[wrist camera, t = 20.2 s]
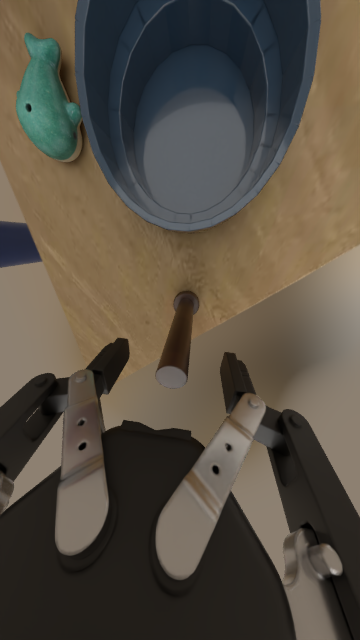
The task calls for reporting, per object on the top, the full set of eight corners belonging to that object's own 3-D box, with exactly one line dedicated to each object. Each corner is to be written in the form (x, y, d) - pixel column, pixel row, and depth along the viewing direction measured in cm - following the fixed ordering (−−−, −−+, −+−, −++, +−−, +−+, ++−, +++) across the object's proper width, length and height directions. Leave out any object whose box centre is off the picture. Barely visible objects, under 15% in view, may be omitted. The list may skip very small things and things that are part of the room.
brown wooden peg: (173, 312, 24) (146, 391, 11) (175, 289, 22) (144, 353, 10) (197, 314, 23) (194, 398, 11) (200, 292, 22) (201, 361, 9)
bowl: (128, 228, 19) (97, 223, 13) (113, 22, 12) (38, -166, 7) (244, 238, 18) (265, 238, 12) (298, 21, 11) (396, -196, 6)
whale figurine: (40, 158, 17) (1, 138, 13) (23, 43, 13) (-37, -22, 10) (92, 172, 17) (66, 155, 14) (88, 61, 13) (51, 2, 10)
